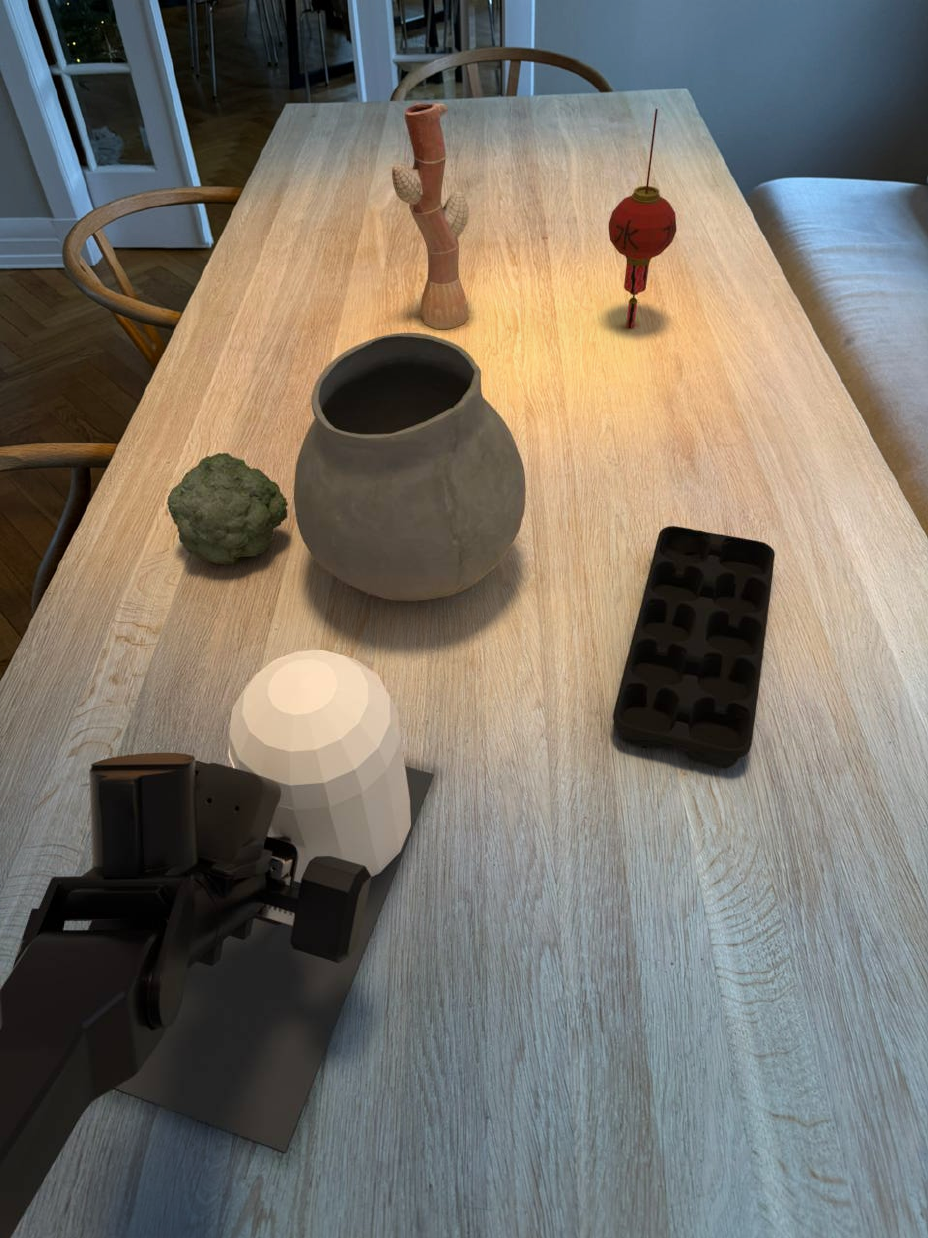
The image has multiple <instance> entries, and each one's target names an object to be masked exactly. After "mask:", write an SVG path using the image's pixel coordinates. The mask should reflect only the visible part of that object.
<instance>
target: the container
mask: <svg viewBox="0 0 928 1238" xmlns="http://www.w3.org/2000/svg"><path fill="white" fill-rule="evenodd" d="M229 724H230V725H229V731H228V732H229V733H228V741H229V746H228V747H229V748H228V754H227V755H228V757H229V761H230V763H231V766H232V768H235V769H239V770H243V771H247V772H250V773H254V774H257V775H260V776H262V777H265V778H268V779H271V780H274V781H276V782H277V783H278V784H279V786H280V789H281V797H280V800H279V803H278V805H277V806H276V809H275V812H274V816H273V819H272V822H271V825H270V828H269V831H268V834H267V836H268V837H285V838H288V839H291V843H292V844H293V845H294V846H295V847H296V848H297V851H298V862H297V868H296V873H295V879H294V881H296V882H299V883H301V879H302V876H303V874H304V872H305V870H306V868H307V865H308V863H309V861H310V860H312V859H313V858H314V857H316V856H332V857H336V858H339V859H343V860H346V861H350V862H353V863H356V864H360V865H363V866H366V868H367V870H368V871H369V873H370V875H371V877H372V876H375V875H377V874H379V873H380V872H381V871H382V870H383V869H384V868H385V867H386V866H387V865H388V864H389V863H390V862H391V861H392V860H393V859H394V858H395V857H396V856H397V855H398V854H399V853H400V851H401V849H402V847H403V844H404V842H405V839H406V837H407V834H408V832H409V829H410V827H411V815H410V797H409V790H408V783H407V777H406V770H405V767H406V764H405V763H406V762H405V758H404V750H403V744H402V737H401V736H402V735H401V730H400V713H399V712H398V709H397V707H396V706H395V704H394V702H393V700H392V697H391V696H390V694H389V693H388V691H387V688H386V687H385V685H384V683H383V682H382V680H381V678H380V677H379V674H377V673H376V672H375V671H373V670H372V669H370V668H369V667H368V666H366V665H365V664H363V663H362V662H360V661H359V660H357V659H356V658H353V657H350V656H347V655H344V654H341V653H337V652H332V651H329V650H324V649H310V650H308V649H307V650H296V651H293V652H291V653H288V654H286V655H283V656H281V657H278V658H275V659H273V660H272V661H270V662H269V663H268V664H267V665H265V666H264V667H263V668H262V669H260V670H259V671H258V672H257V673H255V675H254V676H253V677H252V678H251V679H250V680H249V681H248V683H247V684H246V685H245V687H244V689H243V690H242V692H241V693H240V695H239V697H238V698H237V700H236V702H235V703H234V705H233V707H232V708H231V717H230V722H229Z"/></svg>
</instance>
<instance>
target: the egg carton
mask: <svg viewBox="0 0 928 1238" xmlns="http://www.w3.org/2000/svg"><path fill="white" fill-rule="evenodd" d="M656 539H657V540H656V544H655V548H654V552H653V556H652V560H651V562H650V567H649V571H648V575H647V580H646V584H645V587H644V592H643V595H642V599H641V603H640V606H639V610H638V611H639V612H638V615H637V619H636V623H635V625H634V626H635V627H634V630H633V634H632V637H631V638H632V639H631V642H630V647H629V650H628V652H627V653H628V654H627V657H626V660H625V661H626V662H625V665H624V669H623V672H622V676H621V679H620V680H621V681H620V685H619V689H618V692H617V696H616V701H615V705H614V709H613V713H612V720H613V726H614V728H615V729H616V730H617V734H618V736H619V739H621V740H622V742H624V743H627V744H629V745H631V746H635V747H641V748H643V749H660V748H662V747H664V746H667V745H672V746H674V747H675V748H674V749H677V750H681V751H684V752H685V753H686V755H687V757H689V759H690V760H692V761H694V762H697V763H701V764H705V765H709V766H713V767H716V768H725V769H726V768H730V767H732V766H735V765H736V764H737V763H738V761H739V759H742V758H744V757H746V756H747V755H748V754H749V753H750V750H751V747H752V743H753V737H754V729H755V722H756V721H755V720H756V714H757V713H756V712H757V706H758V705H757V704H758V697H759V688H760V682H761V674H762V673H761V672H762V665H763V659H764V658H763V657H764V649H765V642H766V633H767V623H768V615H769V608H770V600H771V594H772V593H771V592H772V585H773V584H772V583H773V574H774V567H775V558H776V553H775V550H774V548H773V547H772V546H771V545H770V544H768V543H766V542H763V541H759V540H755V539H751V538H750V539H749V538H743V537H739V536H733V535H727V534H721V533H715V532H709V531H708V532H707V531H703V530H698V529H693V528H688V527H683V526H678V525H670V526H669V525H668V526H666V527H664V528H662V529H661V530H660V531H659V533H658V536H657V538H656Z"/></svg>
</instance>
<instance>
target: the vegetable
mask: <svg viewBox="0 0 928 1238" xmlns="http://www.w3.org/2000/svg"><path fill="white" fill-rule="evenodd" d="M166 504H167V508H168V512H169V513H170V516H171V518H172V520H173V523H174V524H175V525H176V527H177V532H178V539H179V543H181V544H182V547H183V548H184V550H185V551H187V552H188V553H189V554H193V555H194V556H197V557H198V558H199V559H202V560H204V561H205V562H208V563H215V564H217V565H219V564H221V565H232V564H236V562H237V559H238V558H241V557H242V558H243V557H257V556H258V555H259V554H263V553H265V552H266V551H267V550H268V547H269V546H270V545H271V542H272V540H273V539H274V530H275V529H276V528H278V527H280V526H281V525H282V523H283V522H284V521H285V520H286V519H287V518H288V509H287V506H288V505H289V504H288V501H287V498H286V497H284V495H283V493H281V489H280V486H279V484H278V483H277V482H276V481H273V480H271V479H270V478H269V477H268V475H266V474H265V473H264V472H263V471H262V470H260V468H251V467H250V466H248V465H247V464H246V462H245V459H241V458H237V457H235V456H234V457H233V456H232V455H230V454H229V453H228V452H226V453H225V452H224V453H222V452H218V453H216V454H214V455H211V456H209V455H207V456H205V457H203V458H202V459H201V460H200V461H199V462H198V464H197V465H196V466H194V467H193V468H191V469H190V470H189V471H188V472H186V473H185V474H184V475H183V477H182V478H181V481H180V482H179V483H177V484H176V486H174V487H173V488H172V489H171V491H170V492H169V495H167V502H166Z"/></svg>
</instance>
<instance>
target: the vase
mask: <svg viewBox="0 0 928 1238" xmlns="http://www.w3.org/2000/svg"><path fill="white" fill-rule="evenodd" d="M447 112H448V108H447V106H446V105H445V104H444V103H437V102H434V103H418V102H417V103H415V104H413V105H410V106H409V107H408V108H406V110H405V112H404V120H405V125H406V127H407V131H408V136H409V140H410V144H411V147H412V153H413V166H412V167H410V166H408V165H406V164H403V163H395V164H394V165H393V167H392V170H391V178H392V186H393V189H394V191H395V194H396V197H398V199H400V201H401V202H404V203H407V204H409V210H410V213H411V215H412V218H413V220H414V222H415V224H416V226H417V228H418V230H419V231H420V234H421V236H422V238H423V240H424V243H425V246H426V251H427V278H426V282H425V285H424V288H423V292H422V296H421V300H420V317H421V319H422V321H423V323H424V324H425V326H428V327H430V328H432V329H435V330H449V329H454V328H455V329H456V328H458V327H460V326H462V325H464V324H465V323H466V321H467V320H468V319H469V308H468V302H467V296H466V294H465V290H464V287H463V284H462V282H461V278H460V272H459V269H460V268H459V258H460V244H459V239H458V238H459V237H460V236H461V235H462V233H463V232H464V231H465V229H466V226H467V224H468V221H469V207H468V203H467V199H466V197H465V195H464V193H462V192H461V191H453V193H452V194H450V196H448V198H447V200H446V201H445V202H444V205H443V204H442V192H443V191H442V190H443V182H444V177H445V175H444V174H445V167H446V160H447V153H446V145H445V139H444V136H443V131H442V126H441V122H440V120H441V117H443V116H444V115H445V114H447Z"/></svg>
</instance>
